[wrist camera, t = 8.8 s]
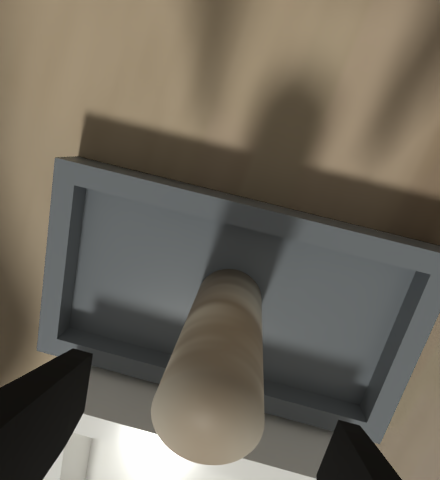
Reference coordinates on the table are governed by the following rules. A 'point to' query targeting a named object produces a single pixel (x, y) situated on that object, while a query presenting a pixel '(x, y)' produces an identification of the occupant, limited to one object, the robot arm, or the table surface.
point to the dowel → (215, 375)
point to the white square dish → (160, 456)
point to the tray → (253, 264)
